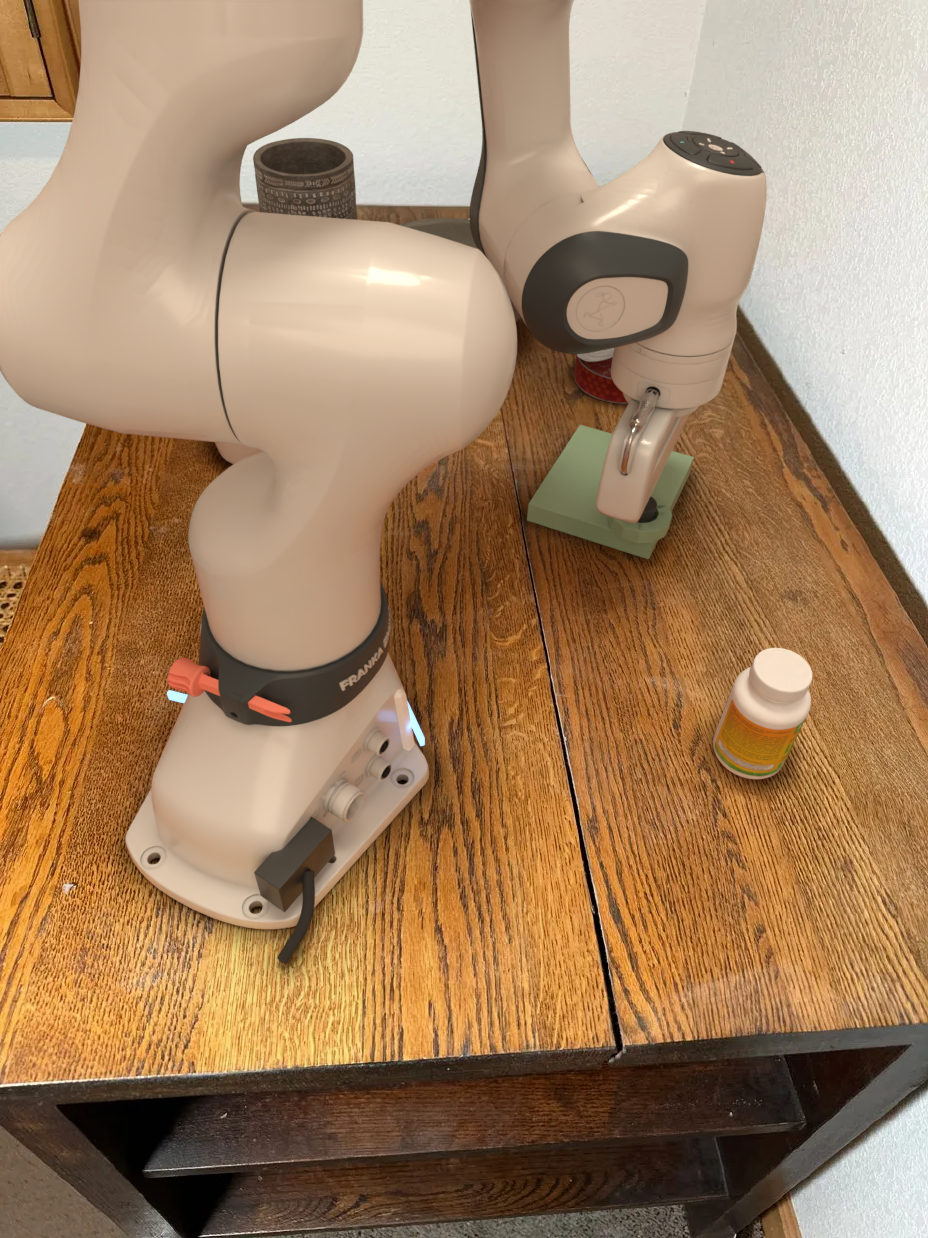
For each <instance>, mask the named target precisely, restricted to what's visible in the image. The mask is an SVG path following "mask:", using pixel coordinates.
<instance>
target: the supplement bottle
mask: <svg viewBox="0 0 928 1238" xmlns="http://www.w3.org/2000/svg"><path fill="white" fill-rule="evenodd" d="M812 681H813V671H812V668H811V666H810V664H809V663H808V661H807V660H806V659H805V658H804V657H803V656H801V655H800V654H799V653H797V652H795V651H793V650H790V649H787V648H785V647H784V648H783V647H770V648H769V647H768V648H766V649H763V650H761V651H760V652H759V653H757V654H756V656H755V657H754V659H753V661H752V663H751V666H749V667H747V668H745V669H744V670H743V671H741V672H739V674H738V675H737V677H736V679H735V680H734V681H733V684H732V687H731V690H730V691H729V692H730V693H729V695H728V698H727V700H726V703H725V706H724V708H723V711H722V714H721V716H720V719H719V721H718V724H717V726H716V729H715V732H714V735H713V739H712V747H713V752H714V754H715V756H716V759H717V760H718V761H719V763H720V764H721V765H722V766H723V767H724V768H725V769H726V770H727V771H729V772H731V773H732V774H734V775H735V776H738V777H740V778H744V779H748V780H763V779H768V778H771V777H773V776H775V775H776V774H777V773H779V771H781V770H782V768H783V767H784V764H785V762H786V761H787V759H788V757H789V754H790V753H791V750H792V749H793V746H794V744H795V742H796V739H797V738H798V735H799V734H800V731H801V730H802V727H803V725H804V724H805V721H806V720H807V717H808V715H809V713H810V710H811V706H812V697H811V693H810V690H809V688H810V686H811V684H812Z"/></svg>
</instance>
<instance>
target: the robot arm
mask: <svg viewBox="0 0 928 1238" xmlns="http://www.w3.org/2000/svg"><path fill="white" fill-rule="evenodd" d="M574 1H575V0H468V3H469V8H470V17H471V27H472V37H473V50H474V59H475V67H476V78H477V88H478V90H477V91H478V98H479V108H480V119H481V133H482V135H481V151H480V152H481V153H480V158H479V164H478V169H477V172H476V176H475V180H474V183H473V187H472V193H471V197H470V203H469V212H468V213H469V218H468V219H470V229H471V233H472V237H473V240H474V242H475V245H476V247H477V249H476V248H473V247H470V246H467V245H464V244H461V243H458V242H454V241H451V240H448V239H445V238H442V237H439V236H436V235H432V234H429V233H425V232H422V231H418V230H414V229H411V228H407V227H404V226H400V225H401V224H396V223H393V222H389V221H377V220H367V219H366V220H365V219H357V220H353V219H340V218H328V217H315V216H302V215H289V214H276V213H263V212H260V211H257V210H255V209H251V208H248V207H247V208H246V207H244V206H243V203H242V195H241V170H242V169H241V168H242V163H243V158H244V155H245V153H246V150H247V147H248V146H249V145H251V144H252V143H255V142H257V141H258V140H261V139H263V138H265V137H267V136H270V135H271V134H274V133H276V132H278V131H279V130H282V129H284V128H286V127H287V126H289V125H292V124H293V123H296V121H298V120H300V119H302V118H303V117H305V116H307V115H308V114H310V113H312V112H313V111H315V110H316V109H318V108H319V107H321V106H322V105H324V104H325V103H326V102H328V101H329V100H330V99H332V98H333V97H334V96H335V95H336V94H337V93H338V92H339V90H340V89H341V88H342V87H343V85H345V83H346V82H347V80H348V78H349V77H350V76H351V73H352V71H353V69H354V67H355V65H356V63H357V61H358V57H359V54H360V50H361V46H362V42H363V36H364V0H78V13H79V24H80V54H81V55H80V69H79V80H78V91H77V96H76V101H75V108H74V113H73V118H72V122H71V125H70V128H69V132H68V136H67V139H66V142H65V145H64V147H63V150H62V152H61V155H60V158H59V160H58V162H57V163H56V165H55V167H54V170H53V171H52V174H51V175H50V177H49V179H48V180H47V182H46V183H45V185H44V186H43V187H42V189H41V191H40V192H39V193H38V194H37V196H36V197H34V199H33V200H32V201H31V203H29V204H28V206H27V207H25V208H24V209H23V210H22V211H21V212H20V213H18V214H17V215H16V216H15V217H14V218H13V219H12V220H10V221H9V223H8V224H7V225H6V226H5V227H4V229H3V230H2V231H1V232H0V374H1V375H2V378H4V380H5V381H6V383H7V384H8V385H9V386H10V387H11V389H12V390H13V391H14V393H15V394H16V395H17V396H18V397H19V398H20V399H21V400H22V401H23V402H25V403H27V405H29V406H31V407H34V408H36V409H38V410H41V411H45V412H48V413H51V414H55V415H58V416H60V417H63V418H67V419H70V420H73V421H77V422H78V423H83V424H87V425H90V426H94V427H97V428H101V429H104V430H107V431H111V432H114V433H118V434H123V435H124V434H125V435H132V436H133V435H135V436H145V437H154V438H155V437H156V438H164V439H166V438H167V439H178V440H188V441H198V442H209V443H210V442H211V443H215V442H219V443H230V444H241V445H245V446H247V447H252V448H257V449H259V450H261V451H258V452H256V453H253V454H251V455H249V456H247V457H245V458H243V459H241V460H239V461H238V462H236V463H235V464H231V465H230V466H229V467H227V468H226V469H225V470H224V471H223V472H221V473H220V474H219V475H218V476H216V477H215V478H214V479H213V480H212V481H210V483H209V484H208V485H207V486H206V487H205V488H204V490H203V491H202V492H201V494H200V495H199V496H198V498H197V499H196V502H195V504H194V506H193V509H192V511H191V515H190V519H189V524H188V531H187V532H188V533H187V542H188V548H189V549H188V550H189V553H190V558H191V561H192V564H193V565H192V566H193V568H194V572H195V576H196V580H197V584H198V588H199V592H200V596H201V599H202V604H203V609H202V615H201V622H200V624H199V648H198V649H199V650H198V661H197V663H196V662H194V661H193V660H192V659H190V658H187V657H183V656H181V657H179V658H177V659H176V660H175V661H174V662H173V663H172V665H171V666H170V668H169V670H168V675H167V679H166V680H167V685H168V686H169V687H170V688H172V689H175V690H178V691H183V692H186V693H182V692H178V691H174V690H170V689H169V690H168V691H167V693H166V695H167V698H168V700H169V701H173V702H177V703H182V706H181V709H180V711H179V713H178V715H177V718H176V721H175V723H174V725H173V728H172V730H171V732H170V734H169V736H168V739H167V742H166V744H165V746H164V747H163V748H164V749H163V751H162V752H161V755H160V758H159V759H158V762H157V765H156V767H155V769H154V772H153V775H152V778H151V786H150V787H151V788H150V790H149V791H148V792H147V795H146V796H145V798H144V800H143V802H142V804H141V806H140V807H139V809H138V811H137V813H136V814H135V816H134V819H133V820H132V822H131V823H130V826H129V828H128V830H127V831H126V834H125V840H124V841H125V846H126V849H127V852H128V854H129V857H130V859H131V861H132V862H133V864H134V865H135V867H136V869H138V871H139V872H140V873H141V874H142V876H143V877H144V878H145V879H146V880H147V881H148V882H150V884H152V885H153V886H154V887H155V888H157V889H158V890H159V891H161V893H164V894H165V895H166V896H167V897H170V898H171V899H173V900H175V901H177V902H179V903H180V904H181V905H184V906H186V907H187V908H189V909H191V910H193V911H195V912H198V913H200V914H203V915H205V916H207V917H210V918H211V919H214V920H217V921H220V922H223V923H226V924H229V925H234V926H238V927H242V928H247V929H248V928H249V929H255V930H279V929H289V928H294V927H295V928H294V930H293V931H292V933H291V934H290V936H289V938H288V939H287V940H286V942H285V944H284V946H283V947H282V949H281V950H280V952H279V953H278V955H277V960H278V961H279V962H281V963H283V964H290V961H291V959H292V957H293V956H294V954H295V953H296V951H297V949H298V948H299V947H300V945H301V944H302V942H303V941H304V939H305V937H306V934H307V933H308V930H309V928H310V926H311V922H312V920H313V916H314V911H315V908H316V907H317V906H318V905H319V904H320V902H321V901H322V900H323V899H324V898H325V897H326V896H327V895H328V894H329V893H330V891H331V890H332V889H333V888H334V887H335V885H336V884H337V883H338V882H339V881H340V880H341V879H342V878H343V877H344V876H345V874H347V872H348V871H349V870H350V869H351V868H352V867H353V866H354V864H355V863H356V862H357V861H358V860H359V859H360V858H361V857H362V856H363V854H365V852H366V851H367V850H368V849H369V848H370V847H371V846H372V844H374V842H375V841H376V840H377V839H378V838H379V837H380V835H381V834H383V832H384V831H385V830H386V829H387V827H389V825H390V824H391V823H392V822H393V821H394V820H395V819H396V818H397V817H398V815H399V814H400V813H401V812H402V811H403V810H404V809H405V807H407V805H409V803H411V801H412V800H413V798H414V797H415V796H416V795H417V794H418V793H419V792H420V791H421V790H422V788H424V786H425V785H426V784H427V782H428V781H429V779H430V768H429V764H428V761H427V759H426V756H425V755H424V753H423V751H422V749H420V747H423V746H425V745H426V741H425V740H426V739H425V735H424V733H423V731H422V729H421V727H420V724H419V722H418V721H417V718H416V716H415V714H414V712H413V709H412V707H411V705H410V703H409V701H408V697H407V693H406V691H405V687H404V686H403V683H402V681H401V678H400V675H399V674H398V671H397V669H396V667H395V665H394V663H393V660H392V657H391V654H390V652H389V650H390V645H391V628H392V620H391V609H390V607H389V603H388V597H387V592H386V589H385V587H384V585H383V583H382V581H381V547H382V534H383V526H384V522H385V519H386V515H387V514H388V511H389V508H390V506H391V504H392V503H393V502H394V500H395V499H396V497H397V496H398V495H399V494H400V493H401V492H402V490H403V489H404V488H405V487H406V485H408V484H409V482H411V481H412V480H413V479H415V478H416V476H418V475H419V474H421V473H422V472H423V471H425V470H426V469H427V468H429V467H430V466H432V465H434V464H435V463H436V462H437V463H438V462H439V461H441V460H442V459H445V458H446V457H448V456H450V455H453V454H455V453H457V452H460V451H462V450H464V449H465V448H467V447H468V446H470V445H471V444H472V443H473V442H474V441H475V440H477V439H478V437H480V435H481V434H483V433H484V432H485V431H486V429H487V428H488V427H489V426H490V424H491V423H492V422H493V420H494V419H495V418H496V416H497V415H498V413H499V412H500V411H501V409H502V406H503V404H504V402H505V401H506V399H507V397H508V393H509V390H510V389H511V385H512V383H513V379H514V374H515V371H516V364H517V358H518V330H517V328H518V327H517V322H515V316H514V312H513V308H512V304H511V301H512V303H513V304H514V306H515V307H516V309H517V311H518V313H519V315H520V316H521V317H520V319H521V320H522V322H523V323H524V325H525V326H526V328H527V329H528V332H529V333H530V334H531V335H532V336H533V337H534V338H535V340H536V341H537V342H539V343H540V344H541V345H543V346H544V347H546V348H548V349H549V350H552V351H555V352H558V353H560V354H561V353H562V354H566V355H577V354H585V353H591V352H597V351H601V350H606V349H611V348H614V352H613V358H612V365H611V377H612V380H613V382H614V383H615V385H616V386H617V387H618V388H619V389H620V390H621V391H622V392H623V395H624V397H625V399H626V401H627V402H628V403H629V404H627V405H626V407H625V409H624V411H623V413H622V414H621V416H620V418H619V420H618V422H617V423H616V425H615V426H614V430H613V432H612V433H611V434H612V437H611V439H610V443H609V446H608V449H607V453H606V457H605V461H604V466H603V470H602V475H601V479H600V484H599V489H598V493H597V498H596V508H597V510H598V512H599V513H600V514H602V515H605V516H608V517H611V518H614V519H617V520H621V521H625V522H629V523H636V522H637V521H638V520H639V519H640V517H641V515H642V513H643V511H644V509H645V507H646V505H647V502H648V500H649V498H650V496H651V494H652V492H653V490H654V488H655V486H656V484H657V482H658V480H659V478H660V475H661V473H662V471H663V469H664V467H665V465H666V463H667V461H668V459H669V457H670V455H671V453H672V451H674V448H675V446H676V444H677V442H678V440H679V438H680V436H681V434H682V432H683V430H684V428H685V426H686V423H687V422H688V419H689V417H690V416H691V414H692V413H694V412H695V411H697V410H698V409H699V407H700V406H703V405H705V404H707V403H709V402H711V401H713V399H715V398H716V397H717V396H718V395H719V393H720V392H721V389H722V388H723V383H724V380H725V375H726V372H727V368H728V366H729V365H728V363H729V361H730V357H731V353H732V351H733V350H732V349H733V346H734V342H735V338H736V334H737V329H738V318H737V312H738V307H739V303H740V301H741V299H742V297H743V295H744V293H745V292H746V291H747V289H748V288H749V287H748V286H749V284H750V282H751V278H752V275H753V272H754V267H755V263H756V259H757V255H758V253H759V252H758V251H759V248H760V242H761V238H762V231H763V227H764V221H765V214H766V208H767V207H766V206H767V196H768V187H767V186H768V185H767V182H768V181H767V175H766V172H765V171H764V169H763V168H762V166H761V164H760V163H759V162H758V161H757V160H756V159H755V158H754V156H752V155H751V154H750V153H749V152H747V151H746V149H745V150H744V148H742V147H741V146H739V145H738V144H737V143H735V142H732V141H729V140H727V139H724V138H722V137H721V136H718V135H715V134H711V133H707V132H702V131H694V130H679V131H673V132H669V133H666V134H664V135H663V136H662V137H661V138H660V140H659V141H658V142H657V144H656V145H655V146H654V147H653V149H652V150H651V151H650V152H649V154H647V155H646V156H645V157H644V158H643V159H642V160H640V161H639V162H638V163H636V164H635V165H634V166H632V167H631V168H629V170H627V171H626V172H624V173H622V174H621V175H620V176H618V177H616V178H614V179H613V180H610V181H609V182H606V183H605V184H603V185H601V186H600V184H599V183H598V182H597V180H596V179H595V177H594V176H593V173H592V172H591V170H590V169H589V167H588V166H587V164H586V162H585V160H584V159H583V157H582V156H581V153H580V152H579V149H578V147H577V145H576V142H575V138H574V135H573V132H572V130H573V129H572V122H571V121H572V117H571V64H570V62H571V58H570V23H571V22H570V21H571V13H572V8H573V5H574ZM510 299H511V301H510ZM414 734H415V738H416V740H417V741H418V744H419V746H420V747H419V746H418V744H417V742H416V741H415V738H414ZM401 781H406V783H403V784H401V783H398V782H401ZM155 859H159V861H158V862H156V863H151V862H152V861H153V860H155ZM257 907H260V908H261V910H260V911H259V912H257V913H253V912H252V910H253V909H255V908H257Z"/></svg>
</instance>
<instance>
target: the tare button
mask: <svg viewBox="0 0 928 1238" xmlns="http://www.w3.org/2000/svg"><path fill="white" fill-rule="evenodd" d="M656 508H657V502H656V500H655V499H654V498H653V497H651V496H650V498H649V500H648V502H647V505H646V507H645V509H644V511H643V513H642V515H641V517H640V519H639V520H638V521H637V522H639V523H647V522H650V521H652V520H653V519H654V517H655V512H656Z"/></svg>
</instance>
